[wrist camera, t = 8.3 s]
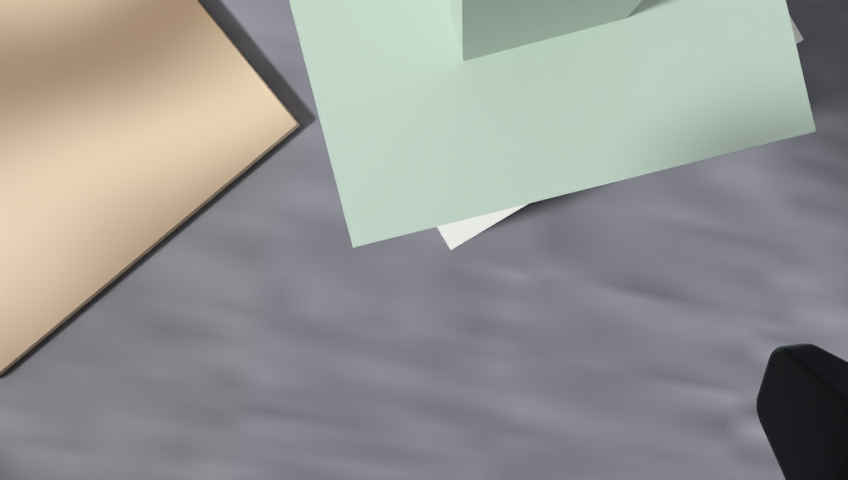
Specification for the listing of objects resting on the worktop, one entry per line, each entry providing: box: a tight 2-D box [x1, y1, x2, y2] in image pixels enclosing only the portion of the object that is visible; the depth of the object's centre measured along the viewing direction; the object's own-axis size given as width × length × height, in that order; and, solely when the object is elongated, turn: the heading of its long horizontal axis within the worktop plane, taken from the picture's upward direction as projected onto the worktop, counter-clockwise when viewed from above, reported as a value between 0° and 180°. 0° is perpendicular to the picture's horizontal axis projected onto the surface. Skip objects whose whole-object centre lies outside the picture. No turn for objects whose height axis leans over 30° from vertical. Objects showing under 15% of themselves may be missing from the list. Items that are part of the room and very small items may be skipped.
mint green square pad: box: [0, 0, 300, 375], centre depth 21 cm, size 11×11×1 cm
